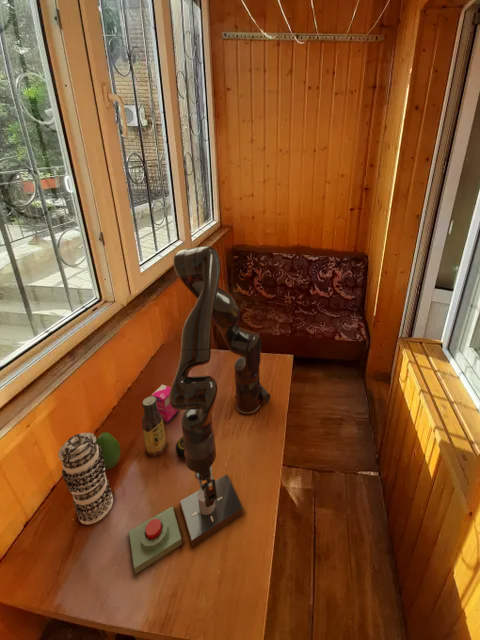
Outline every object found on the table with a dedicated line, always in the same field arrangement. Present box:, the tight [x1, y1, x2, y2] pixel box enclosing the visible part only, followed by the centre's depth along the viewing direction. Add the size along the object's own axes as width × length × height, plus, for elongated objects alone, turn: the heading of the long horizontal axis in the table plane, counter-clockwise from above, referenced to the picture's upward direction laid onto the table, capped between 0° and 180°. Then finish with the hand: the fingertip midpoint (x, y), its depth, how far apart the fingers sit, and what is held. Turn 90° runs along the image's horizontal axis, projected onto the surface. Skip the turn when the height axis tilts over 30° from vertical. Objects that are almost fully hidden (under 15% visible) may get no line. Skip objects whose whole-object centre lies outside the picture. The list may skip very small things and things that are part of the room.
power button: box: [145, 519, 162, 540], centre depth 78 cm, size 4×4×2 cm
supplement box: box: [151, 384, 179, 424], centre depth 115 cm, size 6×6×12 cm
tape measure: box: [175, 436, 185, 461], centre depth 103 cm, size 7×7×4 cm
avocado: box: [96, 431, 122, 471], centre depth 96 cm, size 8×8×12 cm
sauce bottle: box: [141, 395, 167, 457], centre depth 101 cm, size 6×6×20 cm
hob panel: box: [179, 473, 244, 548], centre depth 86 cm, size 14×11×3 cm
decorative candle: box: [57, 432, 114, 525], centre depth 83 cm, size 9×9×25 cm
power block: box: [128, 505, 183, 575], centre depth 79 cm, size 11×9×4 cm
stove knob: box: [197, 488, 216, 515], centre depth 84 cm, size 4×4×6 cm
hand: (204, 489), depth 83 cm, fingers open, 8 cm apart
